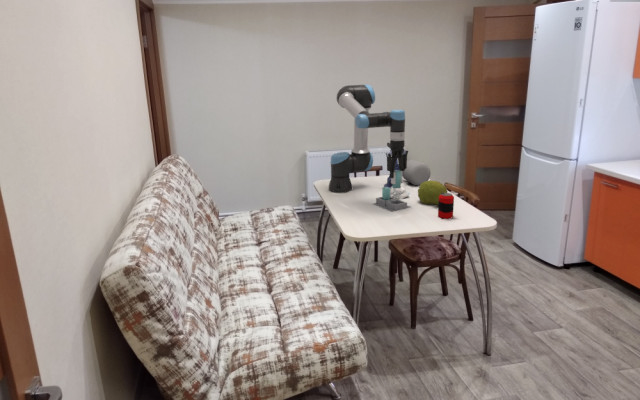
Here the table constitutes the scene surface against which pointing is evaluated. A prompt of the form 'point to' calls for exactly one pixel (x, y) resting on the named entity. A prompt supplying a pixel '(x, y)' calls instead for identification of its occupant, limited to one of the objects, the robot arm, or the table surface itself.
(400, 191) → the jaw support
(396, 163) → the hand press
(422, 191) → the fruit
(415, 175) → the grey rounded lump
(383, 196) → the jaw pin
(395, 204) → the housing
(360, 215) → the table surface
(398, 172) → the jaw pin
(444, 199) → the soda can
